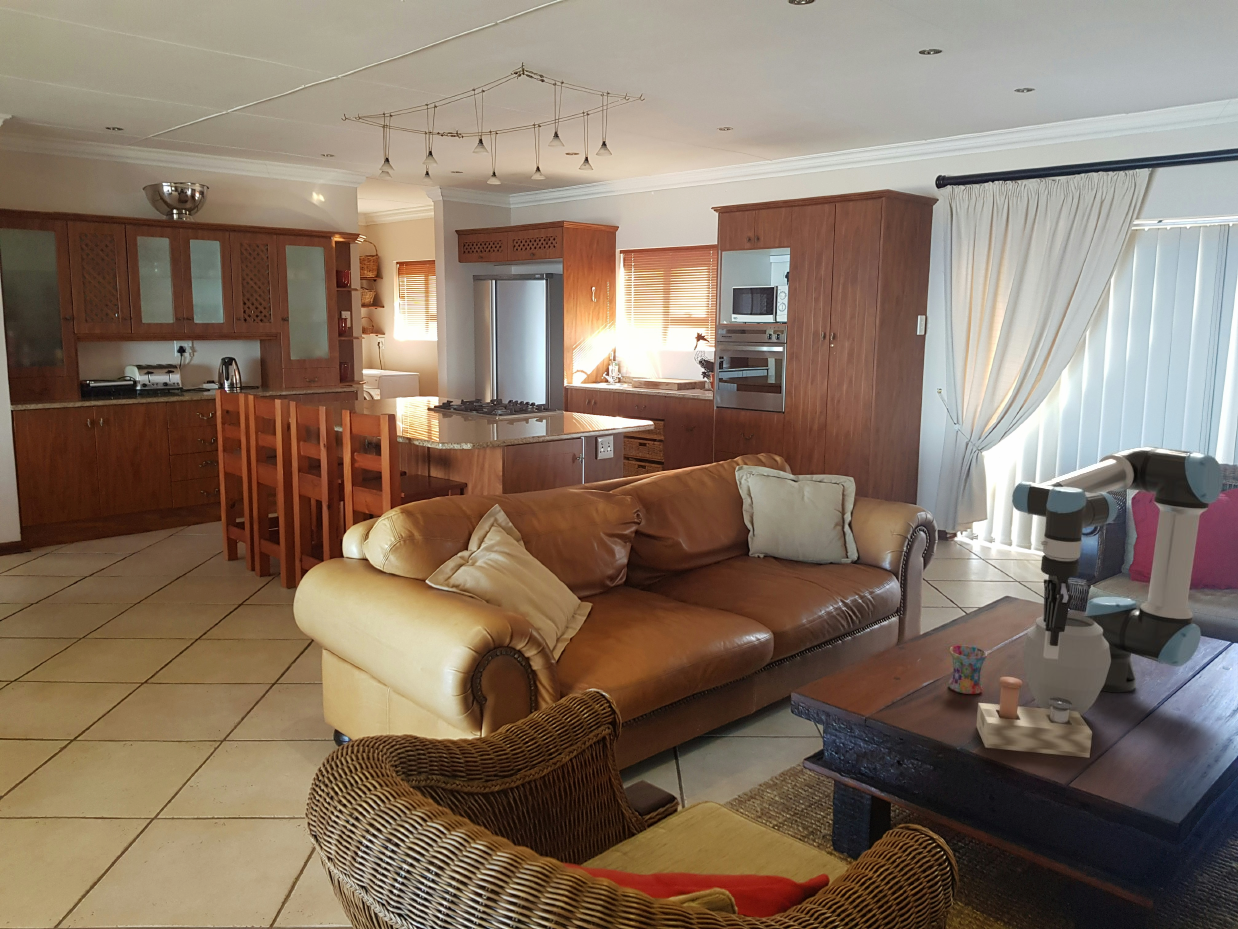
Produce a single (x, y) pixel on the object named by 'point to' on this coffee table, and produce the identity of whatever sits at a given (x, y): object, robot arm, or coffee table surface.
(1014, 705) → the terracotta plug
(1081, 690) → the vase
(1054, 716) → the grey plug
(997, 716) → the block
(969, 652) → the mug
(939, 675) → the coffee table surface
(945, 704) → the coffee table surface
